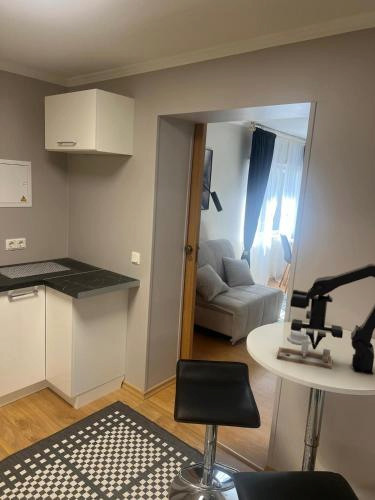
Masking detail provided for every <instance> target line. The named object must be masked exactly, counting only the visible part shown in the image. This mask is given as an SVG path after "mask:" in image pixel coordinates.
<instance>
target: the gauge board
mask: <svg viewBox="0 0 375 500" xmlns="http://www.w3.org/2000/svg"><path fill="white" fill-rule="evenodd" d="M301 351H302V350H298V349H293V348H287V347H282V346H279V348H278V349H277V354H276V360H280V361H287V362H292V363H297V364H303V365H307V366H313V367H318V368H323V369H329V370H332V368H333V366H332V365H333V363H332V361H333V360H332V356H331V349H327V348H323V351H322V354H321V353H314V352H309V351H308V356H307V355H305V358H303V355H301Z"/></svg>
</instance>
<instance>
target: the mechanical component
mask: <svg viewBox="0 0 375 500" xmlns="http://www.w3.org/2000/svg"><path fill="white" fill-rule="evenodd" d="M287 340H288V342H289V343H291V344H295V345H298V346H299V345H300V346H302V341H303V340H307V341H309V345H310V344H312V343H311V340H310V337H309V335H307V334H306V329H303V328H301V330H300V331H294V330H291V329H290V333H289V334H288V335H287Z"/></svg>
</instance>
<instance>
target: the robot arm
mask: <svg viewBox="0 0 375 500" xmlns="http://www.w3.org/2000/svg"><path fill="white" fill-rule="evenodd" d="M371 277H372V278H375V264H374V263H368V264H366V265H364V266H361V267H357V268H355V269H352V270H348V271H345V272H343V273H340V274H337V275H331V276H322V277H317V278H316V279H315V280H314V281H313V284H312V285H311V287H310V288H309V289H308V290H307V291H304V290H303V291H302V290H298V289H293V290H292V294H291V298H290V307H292V308H297V309H302V310H306V309H307V307H308V308H309V307H310V310H306V314H305V319H306V320H308V323H303V320H300V319H297V318H296V319H295V318H293V319H292V321H291V323H290V331H291V330H294V331H300V330H301V329H302V330H305V331H306V334H307V335H309V337H310V340H311V343H310V344H311V346H312V350H316V349H317V347H318V345H319V344H320V342H321V341H322V340H323V338H326V337H327V333H330V334H331V336H332V337H333V338H338V339H343V334H344V333H343V332H344V331H343V330H344V329H343V327H342V326H341V325H333V324H331V327H328V326H325V325H326V319H327V318H326V317H327V309H328V308H327V306H328V303H333V300H334V298H333V297H332V296H331V295H330V294H329V293H331V292H333V291H334V290H336V289H337V288H339V287H341V286H345V285H348V284H352V283H355V282H357V281H360V280H364V279H366V278H371ZM310 302H311V303H310ZM315 331H317V333H316V338H315ZM374 331H375V303H374V305H373V307H372V308H371V310H370V311H369V313H368V315H367V316H366V319H365V320H364V322H363V323H362V324H361V325H360V326H359V325H357V324H356V325H355V328H354V330H353V331H351V332H350V333H351V334H350V340H351V347H352V348H353V350H354V353H352V360H351V367H352V369H353V371H354V372H358V373H364V374H368V375H373V374H374V371H373V369H374V363H375V362H374V361H375V350H374V345H373V344H372V343H371V342H372V337H373V333H374Z"/></svg>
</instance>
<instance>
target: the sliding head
mask: <svg viewBox="0 0 375 500" xmlns="http://www.w3.org/2000/svg"><path fill="white" fill-rule="evenodd" d="M309 345H310V344H309V341H307V340H303V341H302V345H301V350H300V351H301V355H303V358H305V355H307V356H308V352H309Z"/></svg>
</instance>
